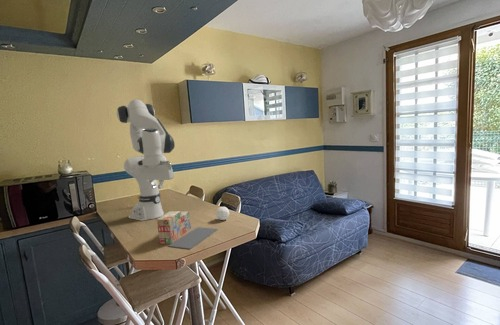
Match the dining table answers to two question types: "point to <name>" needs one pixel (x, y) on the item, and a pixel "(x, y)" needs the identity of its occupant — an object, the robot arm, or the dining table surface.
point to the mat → (193, 238)
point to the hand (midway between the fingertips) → (157, 188)
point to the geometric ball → (222, 213)
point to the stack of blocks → (173, 226)
